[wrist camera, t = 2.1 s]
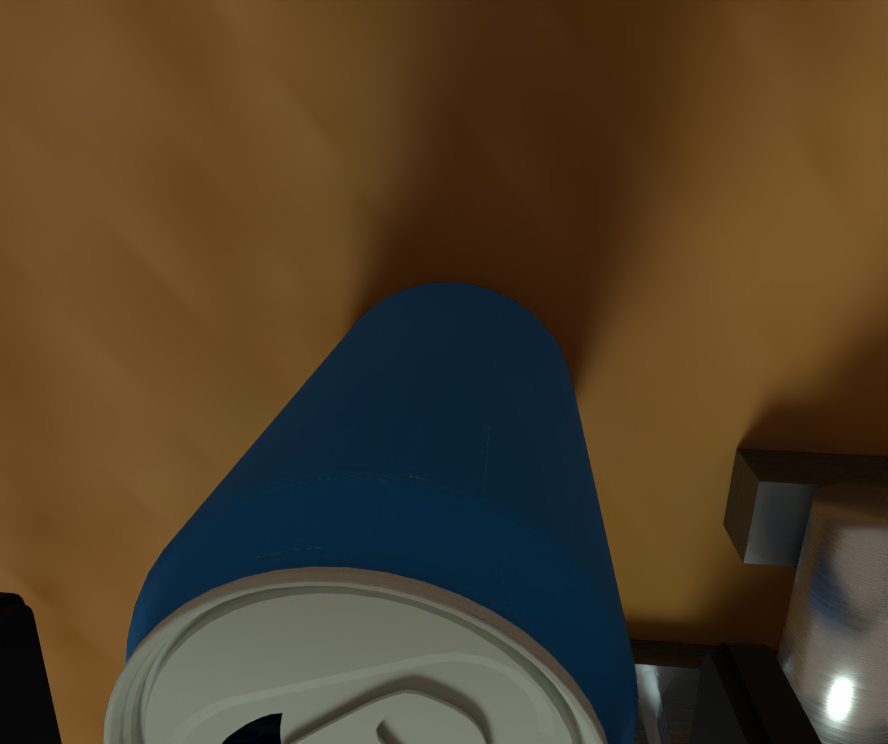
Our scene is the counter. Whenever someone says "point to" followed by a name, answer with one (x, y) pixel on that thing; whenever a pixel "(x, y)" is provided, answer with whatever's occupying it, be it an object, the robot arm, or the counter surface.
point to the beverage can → (395, 556)
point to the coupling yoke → (799, 595)
